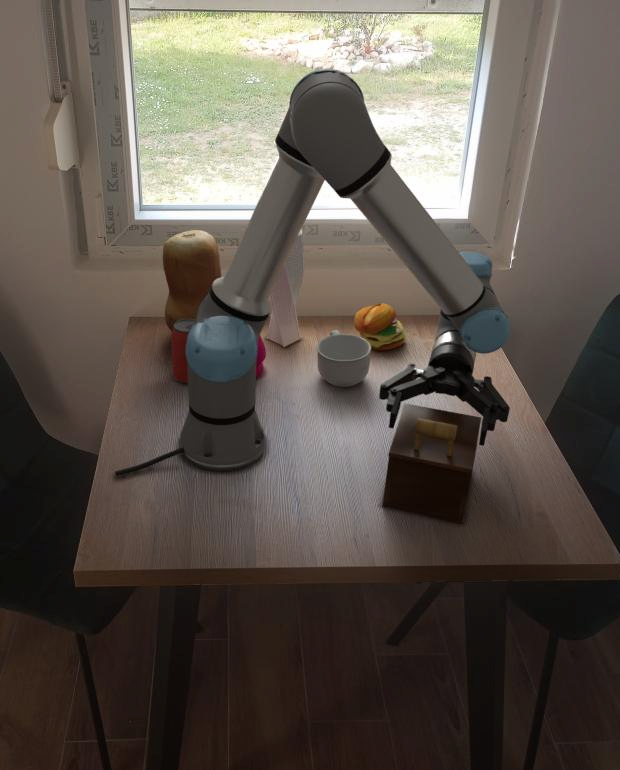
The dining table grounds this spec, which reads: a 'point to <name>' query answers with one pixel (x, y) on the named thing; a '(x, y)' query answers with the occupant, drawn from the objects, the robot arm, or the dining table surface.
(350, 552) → the dining table surface
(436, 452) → the lid
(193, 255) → the butternut squash
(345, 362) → the teacup
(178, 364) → the beer can
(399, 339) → the cheeseburger
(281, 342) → the skyscraper
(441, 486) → the caddy
